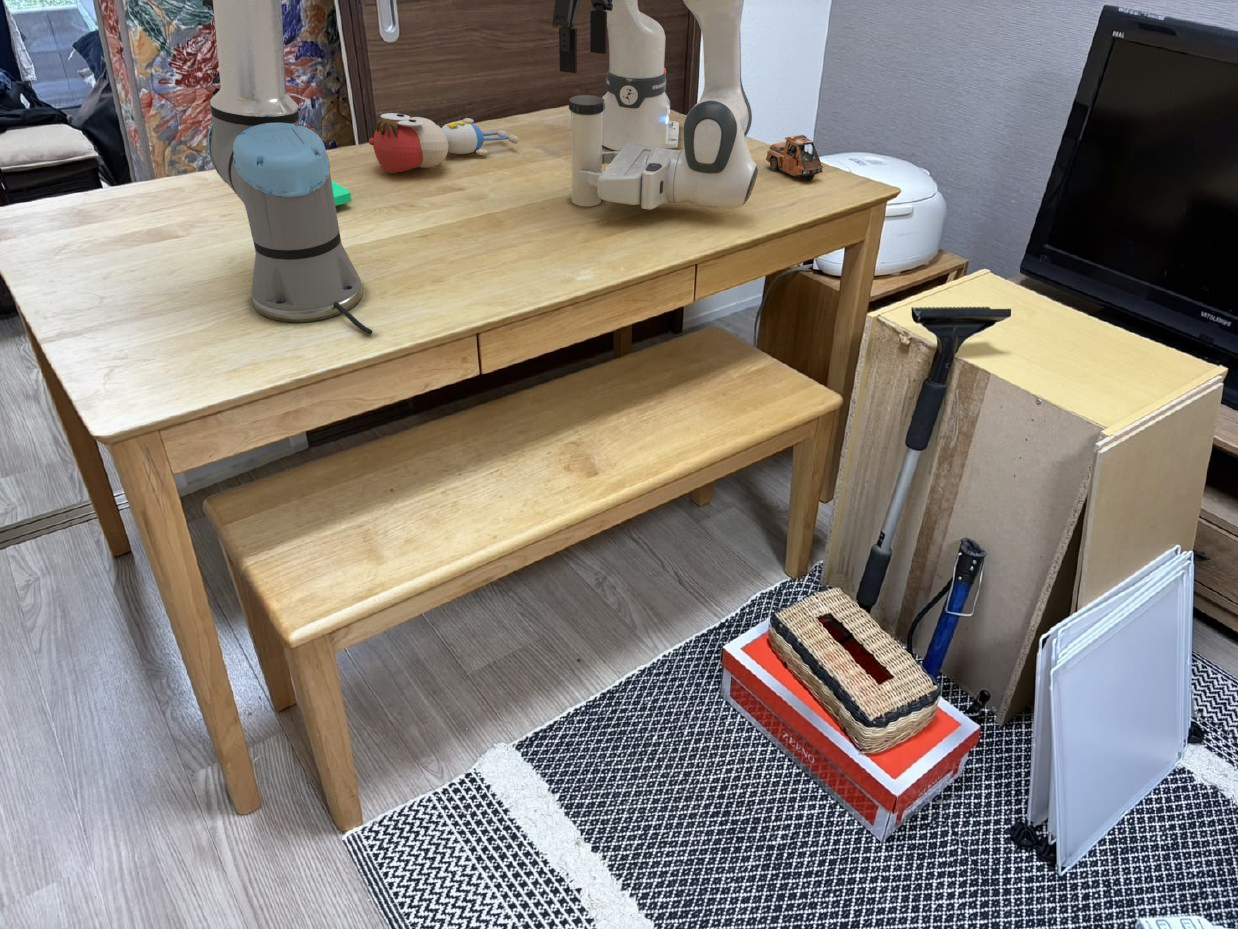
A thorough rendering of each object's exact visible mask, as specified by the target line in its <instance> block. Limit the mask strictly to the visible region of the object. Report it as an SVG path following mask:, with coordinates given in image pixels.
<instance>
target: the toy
mask: <svg viewBox="0 0 1238 929" xmlns="http://www.w3.org/2000/svg"><path fill="white" fill-rule="evenodd" d="M474 123H475V120H474V119H473V118H469V117H465V118H463V119H461V120H456V121H452V122H448V123H446V124H444V125H443V126H442V127H440V125H438V123H437V122H436V121H434V120H432V119H429V118H426V117H423V116H414V117H413V116H410V115H407V114H403V113H398V112H397V113H396V112H394V113H393V112H387V113H383V114H381V115H380V118H379V119H378V120H377V121H376V125H375V128H376V129H375V131H374V135H373V137H370V138H369V140H368V144H369V145H370V146H373V151H374V154H375V157H376V160H377V162H378V163H379V165H380V167H381V169H382V170H383V172H385V173H389V174H398V173H402V172H407V171H410V170H413V169H416V168H422V169H430V168H434V167H437V166H439V165H441V163H442V162H443V161H444V160H446V158H447V155H448V153H451V154H456V155H466V154H471V153H473V152H475V153H476V154H477V155H479V156H484V155H487V154H488V151H487V150H486V149H484V148H482V147H483V145H484V142H488V141H490V142H492V141H493V142H494V141H503V140H508V142H509V143H511V144H514V145H517V144H519V141H520V140H519V137H518V136H517V135H515V134H509V133H507V132H506V131H505V130H497V131H496V132H485V133H484V132H483V131H482V130H481V129H480V127H479V126H476V125H475V124H474ZM489 136H490V137H489ZM491 136H497V137H491Z"/></svg>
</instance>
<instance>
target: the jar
mask: <svg viewBox="0 0 1238 929" xmlns="http://www.w3.org/2000/svg"><path fill="white" fill-rule="evenodd" d="M570 123H571V124H570V125H571V127H570V128H571V129H570V132H571V133H570V134H571V135H570V138H571V139H570V140H571V143H570V146H571V147H570V148H571V153H570V156H571V158H570V159H571V203H572V204H574V205H575V206H579V207H594V206H598V205H599V204H601V203H602V199H601V198H600V197H598V195H597V187H595V186H593V185H591V184H589V183H586V182H580V181H578V172H579V171H580V170H581V169H587V170H590V172H593V173H598V172H599V173H603V171H602V170H603V168H602V167H603V165H602V152H603V145H602V112H601V113H597V114H578V113H574V112H572V111H570Z"/></svg>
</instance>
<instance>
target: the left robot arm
mask: <svg viewBox="0 0 1238 929" xmlns="http://www.w3.org/2000/svg"><path fill="white" fill-rule="evenodd" d="M581 1H582V0H555V2H554V7H553V14H552V28H554V29H558V46H559V48H558V49H559V51H558V52H559V53H558V54H559V72H562V73H569V74H577V73H578V28H576V27H575V25H576V21H577V17H578V12H579V9H580V5H581ZM590 4H591V6H592V10H590V12H589V14H590V16H589V18H590V20H589V21H590V22H589V23H590V26H589V27H590V32H589V33H590V35H589V36H590V37H589V39H590V40H589V42H590V47H589V48H590V49H589V52H590V53H593V54H601V55H606V54H607V52H608V50H607V49H608V47H607V45H608V41H607V40H608V29H607V12H606V10H607V11H612V9H613V4H612V0H590ZM212 6H213V17H214V28H215V38H216V48H217V59H218V72H219V82H220V89H219V90H218V91H217V92H216V93H215V94H214V96H212V98H210V111H211V125H210V127H209V129H208V134H207V150H208V155H209V158H210V162H211V164H212V167H213V168H214V170H215V171H216V174H218V175H219V178H221V179H222V181H223V182H224V183H225V184H226V185H228V186H229V188H231V190H232V191H233V192H234V194H235V195H236V196H237V197H238V198H239V199H240V201H241V202H242V203H243V206H244V208H245V211H246V215H247V219H248V220H247V221H248V223H249V228H250V233H251V237H252V242H253V247H254V251H255V258H254V264H253V273H252V283H251V289H250V290H251V291H250V294H251V299H252V303H253V307H254V309H255V310H256V311H257V313H259V314H260V315H262V316H264V317H266V318H268V319H271V320H275V321H281V322H289V323H304V322H314V321H315V322H316V321H320V320H326V319H330V318H332V317H336V316H338V315H341V314H342V315H343V316H345V318H347V319H348V320H349V321H350V322H351V323H352V324H353V325H354V326H355V327H356V328H358V330H360V331H361V332H363V333H365V334H367V335H368V336H371V335H372V334H373V333H374V332H373V330H372V329H371V328H369V327H367V326H365V325H364V324H363V323H362V322H360V321H359V320H358V319H357V318H356V317H355V316H354V315H353V314H352V313H351V312H350V311H349V310H351V309H353V308H354V307H355V306H356V305H357V304H358V303H359V302H360V301H361V298H362V297H363V287H362V282H361V278H360V276H359V274H358V272H357V270H356V268H355V266H354V264H353V263H352V261H351V259H350V257H349V255H348V253H347V251H346V250H345V248H344V245H343V243H342V239H341V233H340V225H339V220H338V214H337V207H336V206H335V200H334V194H333V188H332V182H331V181H332V177H331V162H330V158H329V156H328V153H327V150H326V146H325V144H324V143H325V142H324V141H323V139H322V138H321V137H320V135H318V133H317V132H315V131H313V130H311V129H310V128H308V127H305V126H302V125H300V111H299V105H298V103H297V102H296V101H294V99H293V98H292V97H291V96H290V95H289V94H288V91H287V79H286V77H287V76H286V60H285V42H284V20H283V5H282V0H212Z"/></svg>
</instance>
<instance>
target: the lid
mask: <svg viewBox="0 0 1238 929" xmlns="http://www.w3.org/2000/svg"><path fill="white" fill-rule="evenodd" d="M568 110H569V111H570V112H571V111H572V112H574V113H578V114H597V113H601V112H603V111H604V110H605V103H604V99H603V98H602V97H601V96H597V95H592V94H591V95H590V94H579V95H575V96H571V97H570V98H569V100H568Z"/></svg>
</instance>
